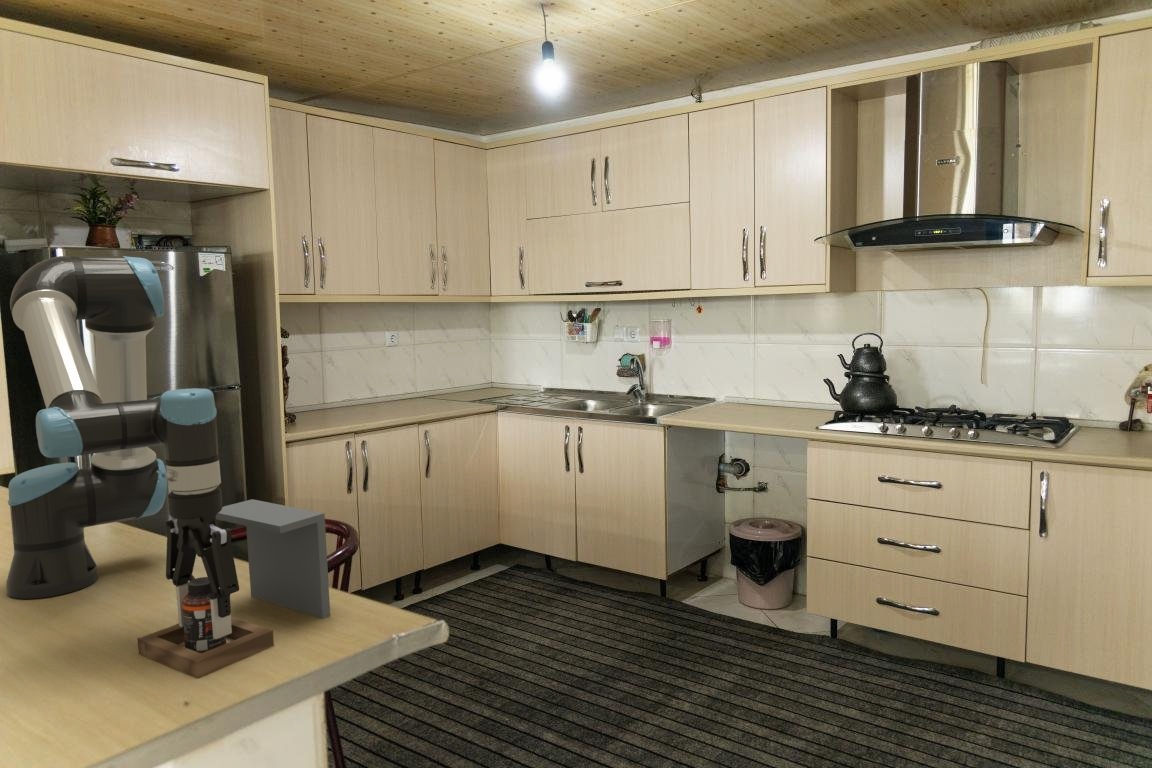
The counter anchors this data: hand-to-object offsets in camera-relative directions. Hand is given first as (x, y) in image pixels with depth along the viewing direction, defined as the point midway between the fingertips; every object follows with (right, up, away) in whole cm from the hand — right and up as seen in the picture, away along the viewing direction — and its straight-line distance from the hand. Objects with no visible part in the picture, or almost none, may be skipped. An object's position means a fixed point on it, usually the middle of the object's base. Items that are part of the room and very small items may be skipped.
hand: (205, 629), depth 129 cm
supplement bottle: (0, -4, 0) cm, 4 cm away
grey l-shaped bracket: (+5, -2, +15) cm, 16 cm away
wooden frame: (0, -3, 0) cm, 3 cm away
